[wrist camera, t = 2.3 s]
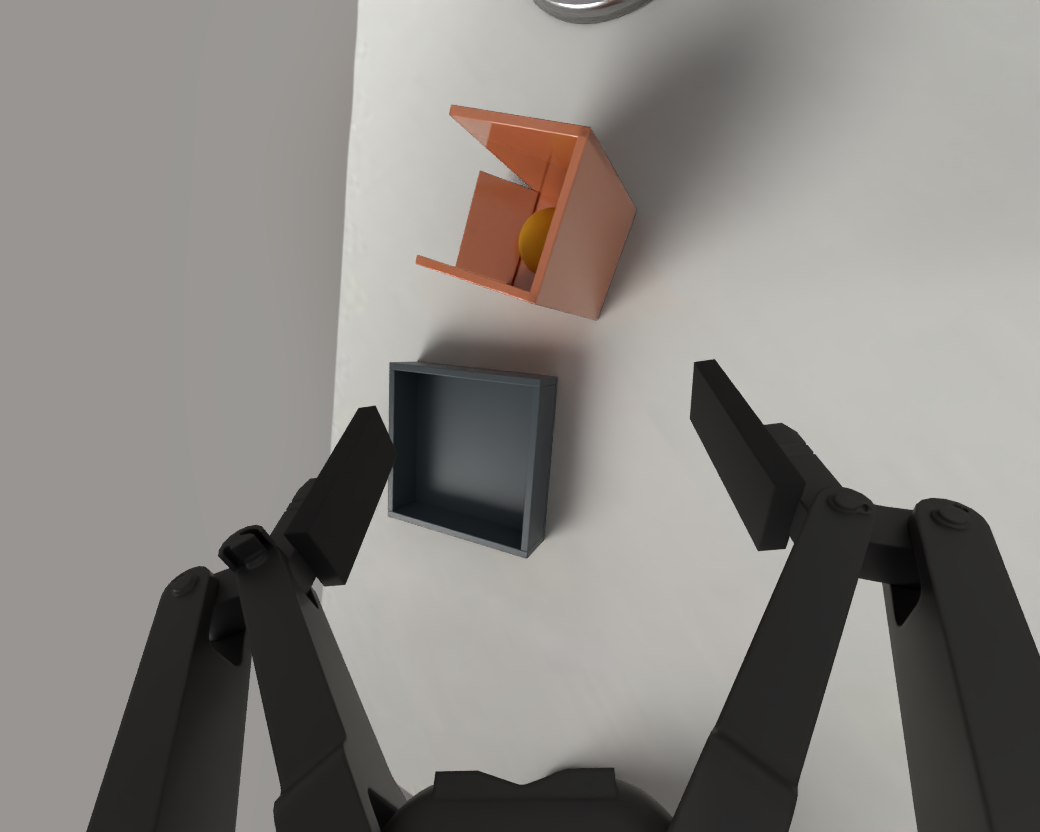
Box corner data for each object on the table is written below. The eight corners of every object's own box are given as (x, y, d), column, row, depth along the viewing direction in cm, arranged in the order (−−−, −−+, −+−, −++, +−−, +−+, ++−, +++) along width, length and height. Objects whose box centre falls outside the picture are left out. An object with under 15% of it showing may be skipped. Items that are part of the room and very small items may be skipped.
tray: (416, 361, 39) (389, 362, 36) (557, 376, 33) (541, 379, 30) (412, 503, 42) (387, 516, 38) (544, 540, 36) (527, 558, 33)
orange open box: (637, 209, 29) (590, 126, 18) (597, 320, 31) (535, 304, 21) (499, 178, 33) (394, 95, 22) (472, 278, 35) (366, 246, 25)
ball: (540, 221, 32) (508, 201, 28) (597, 216, 30) (571, 193, 26) (535, 283, 33) (503, 272, 29) (590, 283, 30) (564, 270, 26)
